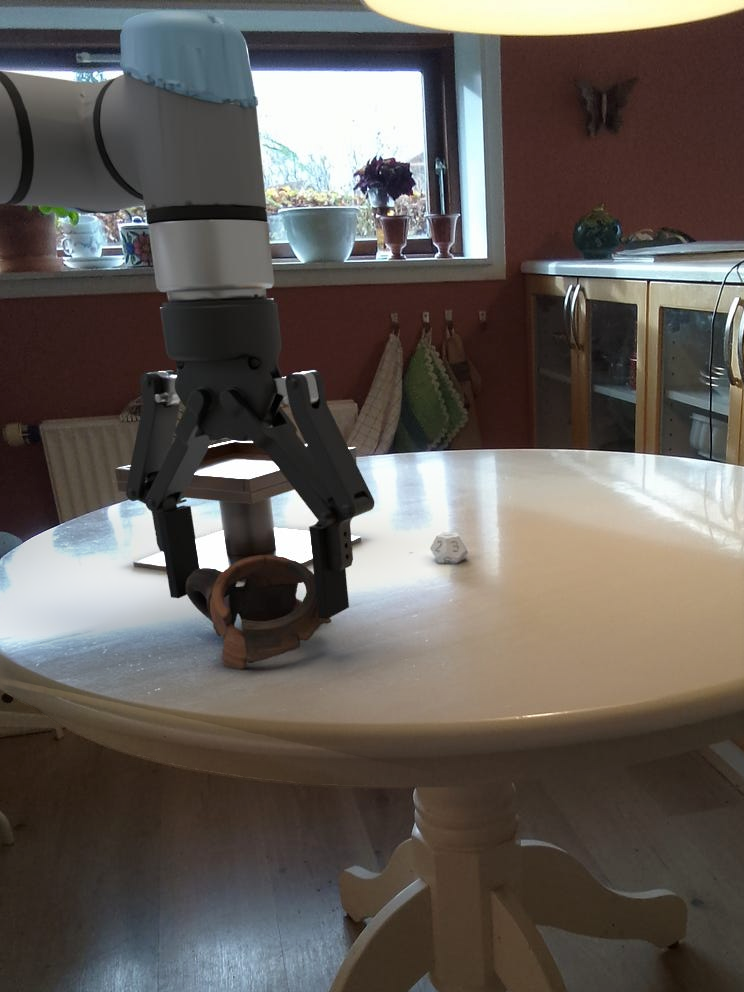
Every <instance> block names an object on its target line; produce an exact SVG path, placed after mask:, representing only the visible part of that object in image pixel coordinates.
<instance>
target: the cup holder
mask: <svg viewBox="0 0 744 992" xmlns="http://www.w3.org/2000/svg"><path fill="white" fill-rule="evenodd" d="M304 445H305V446H306V447H307V445H306V444H304ZM348 448H349V450H350V452H351V454H352V456H353V458H354V460H355V462H356V464H357V465H358V463H357V448H356V447H355V446H348ZM307 449H308V447H307ZM308 450H309V449H308ZM130 466H131V464H128V465H124V466H120V467H116V468H114V473H115V477H116V478H115V479H116V483H117V485H116V486H117V490H118V492H120V493H126V485H127V480H128V476H129V471H130ZM145 481H146V480H145ZM292 491H295V489H294V488H293V487H292V485H291V484H290V483H289V481H288V480H287V479H286V478H285V476H284V475H283V474H282V472H281V471H280V470H279V468H278V467H277V466H276V465H275V463H274V462H273V461H272V459H271V458H270V457H269V455H268V454H267V453H266V452H265V451H264V450H263V449H260V448H258V447H256V446H255V445H254V443H253V442H252V441H251V440H250V441H245V442H240V441H234V440H230V441H226V442H225V441H224V442H221V443H216V444H213V445H210V446H209V448H208V450H207V452H206V454H205V456H204V458H203V459H202V461H201V463H200V465H199V467H198V469H197V471H196V473H195V475H194V476H193V478H192V480H191V482H190V484H189V486H188V488H187V490H186V492H185V494H184V495H183V497H184V498H183V499H193V500H194V499H196V500H207V501H215V502H218V503H219V512H220V520H221V527H222V530H219V531H217V532H215V533H212V534H209V535H206V536H203V537H200V538H197V539H196V546H197V552H198V559H199V566H200V568H214V569H217V570H220V571H222V572H223V571H224V570H225V569H227V568H228V567H229V566H231V565H232V564H234V563H236V562H238V561H240V560H242V559H245V558H248V557H253V556H258V555H263V556H266V555H277V556H282V557H286V558H289V559H291V560H295V561H298V562H299V563H301V564H303V565H304V566H305V567H309V566H310V565H313V560H312V551H311V541H310V532H309V530H302V529H301V530H299V529H291V528H290V529H289V528H279V527H275V523H274V522H275V521H274V513H273V505H272V498H273V497H277V496H279V495H283V494H286V493H289V492H292ZM351 540H352V546H354V545H356V544H359V543H360V542H361V543H362V536H358V535H351ZM132 564H133V567H134V568H139V569H145V570H153V571H161V572H167V571H166V565H165V559H164V553H163V551H160V552H158V553H154V554H153V555H149V556H146V557H144V558H141V559H138V560H136V561H133V562H132ZM245 581H246V579H245V580H242V581H239V583H240V582H241V583H242V582H243V583H245Z"/></svg>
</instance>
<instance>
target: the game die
mask: <svg viewBox="0 0 744 992" xmlns="http://www.w3.org/2000/svg"><path fill="white" fill-rule="evenodd" d="M429 549H430V551H431V553H432V554H433V557H434V558H435V560H436V561H437V563H438V564H452V565H453V564H454V565H455V564H459V563H460V562H462V561H463V560H466V557H467V556H468V554H469V551H468V549H467V547H466V545H465V543H464V542H463V539H462V538H461V537H460V534H459V533H458V532H442V533H440V534H438V535H436V537H435V538H434V540H433V542H432V544H431V545H430V547H429Z"/></svg>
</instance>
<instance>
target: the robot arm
mask: <svg viewBox="0 0 744 992" xmlns="http://www.w3.org/2000/svg"><path fill="white" fill-rule="evenodd" d="M119 35H120V60H119V66H120V70H121V71H122V73H123V74H120V75H119V76H116V77H115V78H109V79H106V80H102V81H96V82H83V81H76V80H69V79H63V78H57V77H49V76H42V75H34V74H26V73H21V72H12V71H8V70H7V71H4V70H0V205H10V206H28V207H29V206H30V207H50V208H62V209H64V210H66V211H68V212H69V211H70V212H73V213H78V214H87V215H88V214H103V215H106V216H107V215H112V214H116V213H117V214H118V213H119V212H120V211H121V210H127V209H133V208H138V207H144V209H145V210H144V211H145V212H146V213H145V217H146V224H147V228H148V236H149V242H150V250H151V257H152V265H153V272H154V273H153V274H154V279H155V286H156V287H155V288H156V290H158V291H159V292H160V293H166V296H167V300H168V302H167V301H166V302H162V304H161V305H162V307H159V312H160V318H161V325H162V332H163V338H164V339H163V340H164V345H165V352H166V354H167V356H168V358H169V359H170V360H172V361H175V362H176V363H175V364H176V371H175V370H172V369H169V370H161V371H160V370H159V371H153V372H146V373H143V374H142V375H141V376H140V390H141V400H142V401H141V402H142V403H141V404H142V407H141V412H140V417H139V422H138V426H137V432H136V436H135V440H134V441H135V442H134V445H133V451H132V456H131V462H130V465H131V466H130V471H129V476H128V480H127V485H126V492H125V494H126V497H127V499H128V500H129V501H132V502H135V501H139V502H140V503H143V504H144V505H145V506H146V508H147V509H148V510H149V511H150V512H151V515H152V521H153V528H154V534H155V540H156V545H157V547H158V550H159V552H163V553H164V559H165V565H166V571H165V572H166V576H167V577H166V578H167V582H168V588H169V594H170V598H172V599H180V598H183V597H185V596H188V595H187V593H186V581H187V578H188V577H189V576H190V575H191V574H192V572H193V571H194V570H196V569H200V566H199V559H198V552H197V546H196V540H197V539H196V533H195V527H194V520H193V513H192V506H191V505H180V506H178V505H179V504H183V503H185V502H187V498H184V497H183V495H184V494H185V492H186V490H187V488H188V486H189V484H190V482H191V480H192V478H193V476H194V475H195V473H196V471H197V469H198V467H199V465H200V463H201V461H202V459H203V458H204V456H205V454H206V452H207V450H208V448H209V446H211V444H212V442H213V441H217V442H218V441H221V440H226V439H228V440H230V441H240V442H245V441H250V442H253V443H254V445H255V446H256V447H258V448H260V449H263V450H264V451H265V452H266V453H267V454H268V455H269V457H270V458H271V459H272V461H273V462H274V463H275V465H276V466H277V467H278V468H279V470H280V471H281V472H282V474H283V475H284V476H285V478H286V479H287V480H288V481H289V483H290V484H291V485H292V487H293V488H294V489H295V490H294V491H295V492H296V493H297V495H298V496H299V498H300V499H301V500H302V501H303V502H304V504H305V506H306V507H307V508H308V509H309V510H310V511H311V513H312V514H313V516H314V517H315V518H316V519H317V521H316V522H315V524H312V525H310V526H308V531H309V532H310V541H311V551H312V560H313V563H312V568H313V574H314V579H315V589H316V599H317V608H318V618H323V619H328V618H330V619H331V618H332V617H334V616H335V615H338V614H340V613H341V612H343V611H345V610H347V609H349V608H350V601H349V591H348V580H347V568H350V567H351V566H352V564H353V561H354V553H353V545H352V540H351V536H352V531H351V521H352V520H353V519H354V518H355V517H358V516H361V515H363V514H365V513H368V512H370V511H372V510H373V509H374V507H375V499H374V497H373V495H372V493H371V490H370V489H369V486H368V485H367V482H366V480H365V478H364V477H363V474H362V473H361V471H360V468H359V467H358V463H357V464H356V462H357V461H356V462H355V460H354V458H353V456H352V454H351V452H350V450H349V448H348V447H349V446H348V444H347V442H346V440H345V438H344V436H343V434H342V432H341V430H340V428H339V425H338V424H337V422H336V420H335V418H334V416H333V414H332V411H331V409H330V407H329V405H328V403H327V396H326V392H325V386H324V381H323V377H322V374H321V373H320V372H319V371H318V370H314V369H312V370H306V371H301V372H294V373H290V374H288V375H287V376H283V374H282V372H281V369H280V366H279V355H280V353H281V351H282V346H283V345H282V336H281V327H280V318H279V310H278V309H279V308H278V302H275V300H274V298H273V297H272V298H267V289H272V288H273V287H274V286H275V275H274V267H273V258H272V249H271V240H270V233H269V223H268V211H267V201H266V200H267V199H266V190H265V181H264V180H265V179H264V170H263V168H264V167H263V160H262V149H261V139H260V131H259V130H260V129H259V119H258V109H257V107H258V106H259V99H258V97H257V96H256V92H255V86H254V80H253V74H252V69H251V62H250V56H249V49H248V44H247V41H246V39H245V37H244V35H243V33H242V32H241V30H240V29H239V28H238V27H237V26H236V25H235V24H233V23H232V22H230V21H229V20H226V19H225V18H222V17H219V16H215V15H211V14H208V13H203V12H196V11H188V10H187V11H186V10H155V11H149V12H148V11H147V12H143V13H139V14H136V15H134V16H131V17H129V18H127V20H126V21H125V22H124V23H123V26H122V30H121V32H120V34H119ZM180 402H181V403H182V404H183V406H184V410H183V413H182V415H181V417H180V419H179V421H178V418H179V413H180V412H179V411H180V406H181V405H180V404H181V403H180ZM282 403H283V405H285V406H288V407H289V408H290V411H291V415H292V417H293V420H294V422H293V421H292V420H291V418H290V417H289V416H288V414H287V413H286V412H285V411H284V409H283V408H282V407H281V405H282ZM177 423H178V424H177ZM294 423H295V424H294ZM297 431H299V432H300V435H301V436H302V438H303V441H302V439H301V438H300V437H299V435H298V434H297ZM175 435H176V436H175ZM174 436H175V438H174ZM304 442H305V443H304ZM305 445H307V447H308V449H309V450H308V449H307V447H306V446H305ZM145 480H146V481H145Z"/></svg>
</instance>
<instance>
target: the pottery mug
mask: <svg viewBox="0 0 744 992" xmlns="http://www.w3.org/2000/svg"><path fill="white" fill-rule="evenodd" d="M245 579H246V581H245V582H244V584H243V585H240V586H237V583H238V582H240V581H242V580H245ZM302 583H303V584H304V586H305V595H304V597H303V599H302V600H300V599H299V598H297V592H298V586H299V584H302ZM186 593H187V595H186V596H187V598H188V599H189V600H190V602H191V603H192V604H193V606H194V608H196V609H197V610H198V611H199V612H200V613H201V614H202V615H204V617H205V618H207V619H208V620H209V621H211V622H212V626H213V627H212V628H213V630H214V631H215V633H216V634H217V636H218V637H220V638H223V643H222V654H221V656H220V657H221V659H222V662H223V665H224V666H225V667H227V668H231V669H239V670H244V669H245V668H246V666H247V664H254V663H257V662H261V661H265V660H268V659H271V658H274V657H277V656H281V655H283V654H286V653H288V652H291V651H294V650H296V649H298V648H300V647H301V641H304V642H305V641H308V640H310V638H311V637H313V635H314V634H315V632H317V630H318V629H319V627H320V626H322V625H324V624H330V623H331V622H332V619H331V617H330V618H328V619H323V618H318V608H317V599H316V589H315V579H314V571H311V570H310V568H308V566H306V567H305V566H304V565H303V564H301V563H299V562H298V561H295V560H291V559H289V558H286V557H282V556H277V555H266V556H263V555H258V556H253V557H248V558H245V559H242V560H240V561H238V562H236V563H234V564H232V565H231V566H229V567H228V568H227V569H225V570H224V571H223V572H222V571H220V570H217V569H214V568H200V569H196V570H194V571H193V572H192V574H191V575H190V576H189V577H188V578H187V581H186ZM238 616H239V617H240V624H241V629H240V628H237V627H236V626H235V624H236V621H237V617H238Z"/></svg>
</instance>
